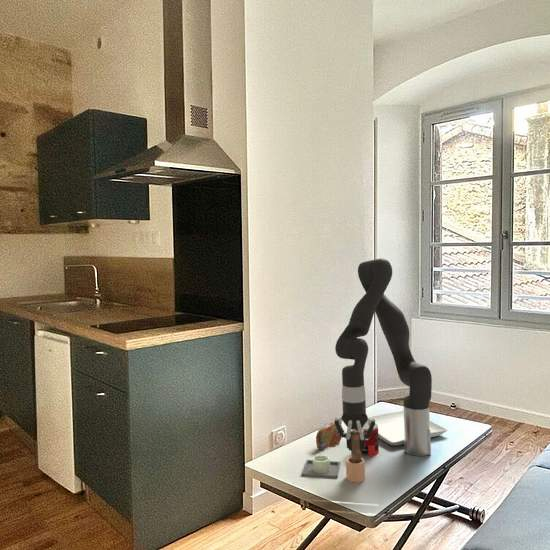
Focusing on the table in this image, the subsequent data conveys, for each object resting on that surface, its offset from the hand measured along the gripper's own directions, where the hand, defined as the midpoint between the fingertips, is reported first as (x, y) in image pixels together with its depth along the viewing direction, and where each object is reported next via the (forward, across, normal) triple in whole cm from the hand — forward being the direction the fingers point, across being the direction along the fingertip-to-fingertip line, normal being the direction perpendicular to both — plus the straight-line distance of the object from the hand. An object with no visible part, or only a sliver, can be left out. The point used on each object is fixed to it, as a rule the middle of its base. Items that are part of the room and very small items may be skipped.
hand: (355, 449), depth 163 cm
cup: (+11, 0, 0) cm, 11 cm away
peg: (+7, 0, 0) cm, 7 cm away
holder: (+10, +12, -5) cm, 16 cm away
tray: (+11, +12, -5) cm, 17 cm away
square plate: (+12, -15, -46) cm, 50 cm away
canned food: (+11, -3, -22) cm, 25 cm away
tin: (+11, +12, -27) cm, 32 cm away
